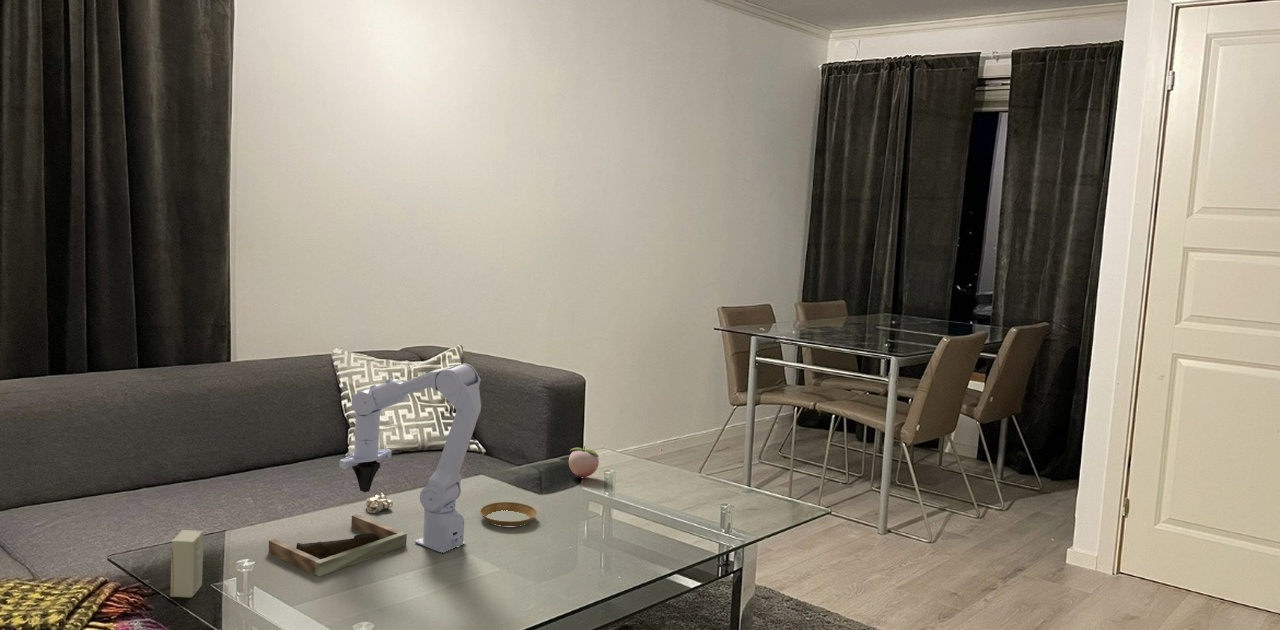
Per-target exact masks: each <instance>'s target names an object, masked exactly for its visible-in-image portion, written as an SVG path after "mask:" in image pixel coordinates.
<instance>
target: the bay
mask: <svg viewBox="0 0 1280 630" xmlns="http://www.w3.org/2000/svg"><path fill="white" fill-rule="evenodd" d="M351 528H352V529H355V530H358V531H359V532H362V533H364V534H369V533H373V534H376V535H377V536H378V537H379V539H380V540H377V541H374V542H372V543H369V544H366V545H363V546H360V547H357V548H354V549H351V550H348V551H345V552H342V553H339V554H336V555H332V556H326V557H324V558H322V559H320V557H314V556H312V555H310V554H307V553H305V552H303V551H301V550H298V549H296V547H294V546H291V545H289V544H288V543H284V542H283V541H280V540H278V539H276V538H272V539H270V540H268V554H269V555H271V556H274V557H275V558H278V559H280V560H282V561H284V562H287V563H289V564H291V565H293V566H295V567H297V568H300V569H302V570H304V571H307V572H309V573H311V574H313V575H315V576H318V577H321V576H325V575H328V574H331V573H333V572H335V571H339V570H343V569H344V568H348V567H351V566H353V565H356V564H359V563H361V562H364V561H367V560H369V559H372V558H373V559H374V558H375V557H379V556H381V555H384V554H386V553H390V552H393V551H395V550H398V549H401V548H404V547H407V539H408V538H407V536H408V533H405V532H404V531H401V530H399V529H396V528H393V527H390V526H388V525H385V524H383V523H380V522H378V521H375V520H373V519H371V518H368V517H365V516H362V515H360V514H357V513H356V514H352V515H351Z"/></svg>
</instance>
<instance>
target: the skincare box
mask: <svg viewBox="0 0 1280 630" xmlns="http://www.w3.org/2000/svg"><path fill="white" fill-rule="evenodd" d="M170 553H171V554H170V555H171V556H170V597H172V598H173V597H174V598H190V599H191V598H193V597H194V595H195V594H196V593H197V592H198V591H199V589H200V588H201V587H202V586H203V559H204V557H203V556H204V530H196V529H195V530H194V529H193V530H192V529H181V530H180V531H179V532H178V533H177V535H175V536H174V538H173V539H172V540H171V551H170Z"/></svg>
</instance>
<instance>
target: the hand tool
mask: <svg viewBox="0 0 1280 630" xmlns="http://www.w3.org/2000/svg"><path fill="white" fill-rule="evenodd" d="M377 540H380V539H379V537H378V536H377V535H376V534H373V533H369V534H367V533H359V534H358V533H357V534H355V535H354V536H353V538H346V539H345V538H344V539H336V540H329V541H317V542H308V543H305V542H304V543H300V542H297V543H296V546H295V548H296V549H298V550H301V551H303V552H305V553H307V554H310V555H312V556H314V557H316V558H321V557H330V556H333V555H336V554H339V553H342V552H345V551H348V550H351V549H354V548H357V547H360V546H363V545H366V544H369V543H372V542H374V541H377Z"/></svg>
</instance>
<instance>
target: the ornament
mask: <svg viewBox="0 0 1280 630" xmlns="http://www.w3.org/2000/svg"><path fill="white" fill-rule="evenodd" d="M365 500H366V503H365V505H366V511H367V513H369V514H375V513H379V512H380V511H382V510H385V509H390V508H393V501H392V500H391V499H388V498H387V495H385V493H383V492H381V493H380V495H379V494H376V495H373V496H370V497H368V498H367V499H365Z"/></svg>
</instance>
